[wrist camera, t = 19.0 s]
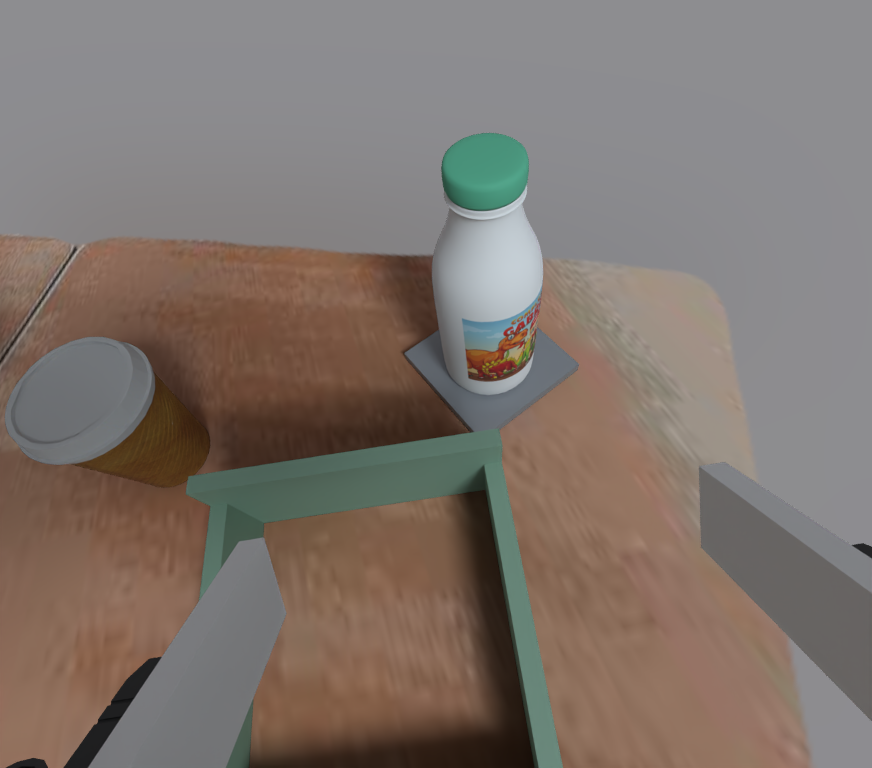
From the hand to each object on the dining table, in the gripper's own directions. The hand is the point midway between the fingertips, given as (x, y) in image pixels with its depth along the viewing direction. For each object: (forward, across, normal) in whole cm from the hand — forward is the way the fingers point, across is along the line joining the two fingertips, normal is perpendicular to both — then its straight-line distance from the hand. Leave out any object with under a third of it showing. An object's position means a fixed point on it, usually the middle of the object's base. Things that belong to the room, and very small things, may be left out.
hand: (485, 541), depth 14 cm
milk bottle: (+28, +4, -1) cm, 29 cm away
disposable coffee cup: (+27, -25, -4) cm, 37 cm away
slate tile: (+29, +4, -1) cm, 29 cm away
